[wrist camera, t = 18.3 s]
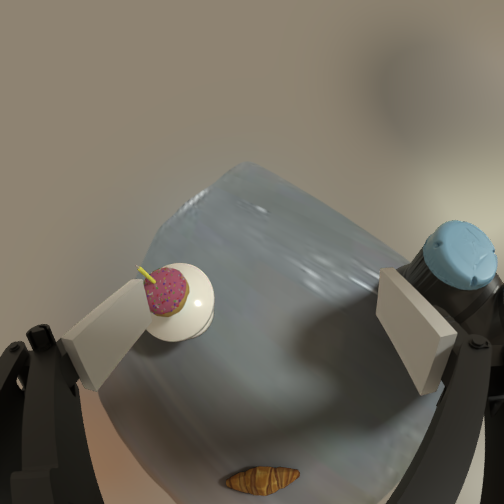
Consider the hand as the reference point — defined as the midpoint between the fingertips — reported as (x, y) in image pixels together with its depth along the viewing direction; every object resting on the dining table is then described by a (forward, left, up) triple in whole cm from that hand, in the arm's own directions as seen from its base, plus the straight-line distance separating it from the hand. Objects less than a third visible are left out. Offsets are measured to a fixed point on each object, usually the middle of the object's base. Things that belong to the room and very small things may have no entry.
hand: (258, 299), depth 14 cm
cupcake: (+9, -19, -30) cm, 36 cm away
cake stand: (+9, -19, -38) cm, 43 cm away
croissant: (+16, +17, -38) cm, 45 cm away
